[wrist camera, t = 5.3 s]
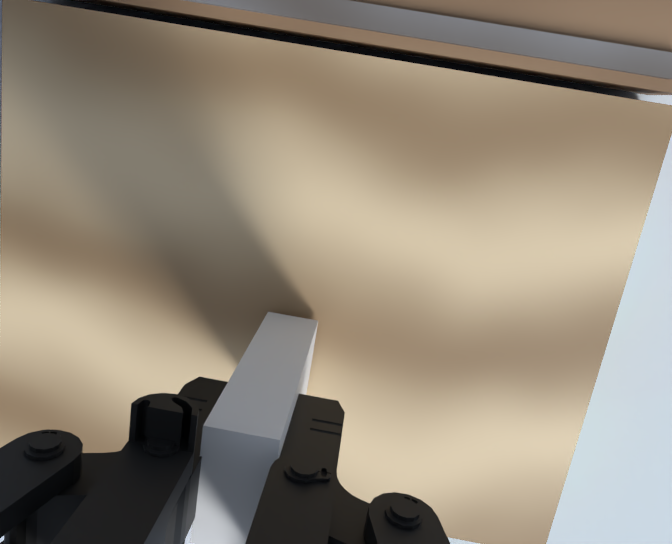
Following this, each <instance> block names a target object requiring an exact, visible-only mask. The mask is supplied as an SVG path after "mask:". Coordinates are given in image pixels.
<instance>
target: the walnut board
mask: <svg viewBox="0 0 672 544" xmlns="http://www.w3.org/2000/svg"><path fill="white" fill-rule="evenodd" d="M72 1H79V2H85V3H91V4H97V5H103V6H109V7H115V8H121V9H127V10H133V11H139V12H146V13H152V14H158V15H164V16H170V17H176V18H182V19H188V20H194V21H200V22H207V23H213V24H219V25H225V26H231V27H237V28H243V29H249V30H255V31H261V32H268V33H274V34H280V35H286V36H292V37H298V38H304V39H310V40H316V41H322V42H329V43H335V44H341V45H347V46H353V47H359V48H365V49H371V50H377V51H383V52H390V53H396V54H402V55H408V56H414V57H420V58H426V59H432V60H438V61H444V62H450V63H457V64H463V65H469V66H475V67H481V68H487V69H493V70H499V71H505V72H511V73H518V74H524V75H530V76H536V77H542V78H548V79H554V80H560V81H566V82H572V83H579V84H585V85H591V86H597V87H603V88H609V89H615V90H621V91H627V92H633V93H640V94H646V95H672V0H72Z"/></svg>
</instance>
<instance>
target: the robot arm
mask: <svg viewBox="0 0 672 544" xmlns="http://www.w3.org/2000/svg"><path fill="white" fill-rule="evenodd" d="M317 326H318V321H317V320H312V319H306V318H301V317H295V316H290V315H284V314H279V313H273V312H268V313H267V315H266V316H265V318H264V320H263V322H262V323H261V325H260V327H259V329H258V330H257V332H256V334H255V336H254V337H253V339H252V341H251V343H250V344H249V346H248V348H247V350H246V351H245V353H244V355H243V357H242V358H241V360H240V362H239V364H238V365H237V367H236V369H235V371H234V372H233V374H232V376H231V378H230V379H229V381H228V382H226V381H221V380H215V379H210V378H204V377H198V378H196V379H194V380H192V381H190V382H188V383H186V384H185V385H184V386H183V387H182V389H181V390H180V392H179V393H178V394H170V393H157V394H149V395H146V396H143V397H140V398H138V399H137V400H135V401H134V402H133V403H131V413H130V427H129V441H128V442H127V443H126V444H125V446H124V447H123V448H122V450H121V451H117V452H107V453H83V444H82V442H81V440H80V438H79V437H77V436H76V435H74V434H72V433H70V432H66V431H61V430H53V429H52V430H50V429H48V430H40V431H35V432H30V433H27V434H25V435H23V436H20V437H18V438H16V439H14V440H13V441H11V442H9V443H8V444H6V445H4V446H3V447H1V448H0V538H1V537H2V536H3V535H4V541H2V542H1V543H0V544H184V543H185V538H186V536H187V534H188V531H189V529H190V527H191V525H192V530H191V539H190V543H192V544H450V542H449V540H448V538H447V536H446V533H445V531H444V529H443V527H442V525H441V522H440V520H439V518H438V516H437V515H436V513H435V512H434V511H433V509H432V508H431V507H430V506H429V505H427V504H426V503H425V502H423V501H422V500H421V499H418V498H416V497H413V496H411V495H408V494H403V493H397V492H392V493H383V494H381V495H379V496H377V497H375V498H373V500H372V501H371V503H368V502H365V501H363V500H361V499H359V498H357V497H355V496H353V495H352V494H350V493H349V492H348V491H347V490H345V489H344V487H343V486H342V485H341V484H340V482H339V480H338V478H337V465H338V458H339V451H340V444H341V437H342V429H343V422H344V415H345V412H344V410H343V408H342V407H341V405H340V403H339V401H337V400H331V399H326V398H321V397H315V396H310V395H306V393H307V387H308V381H309V375H310V369H311V363H312V356H313V350H314V344H315V338H316V332H317Z"/></svg>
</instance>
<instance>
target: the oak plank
mask: <svg viewBox="0 0 672 544" xmlns="http://www.w3.org/2000/svg"><path fill="white" fill-rule="evenodd" d="M671 134H672V105H666V104H660V103H654V102H647V101H641V100H635V99H629V98H623V97H617V96H611V95H605V94H599V93H593V92H587V91H581V90H574V89H568V88H562V87H556V86H550V85H544V84H538V83H532V82H526V81H520V80H514V79H508V78H501V77H495V76H489V75H483V74H477V73H471V72H465V71H459V70H453V69H447V68H441V67H435V66H428V65H422V64H416V63H410V62H404V61H398V60H392V59H386V58H380V57H374V56H368V55H362V54H355V53H349V52H343V51H337V50H331V49H325V48H319V47H313V46H307V45H301V44H295V43H289V42H282V41H276V40H270V39H264V38H258V37H252V36H246V35H240V34H234V33H228V32H222V31H216V30H209V29H203V28H197V27H191V26H185V25H179V24H173V23H167V22H161V21H155V20H149V19H143V18H136V17H130V16H124V15H118V14H112V13H106V12H100V11H94V10H88V9H82V8H76V7H70V6H63V5H57V4H51V3H45V2H39V1H33V0H2V92H1V226H0V448H1V447H3V446H4V445H6V444H8V443H9V442H11V441H13V440H14V439H16V438H18V437H20V436H23V435H25V434H27V433H30V432H35V431H40V430H48V429H50V430H52V429H53V430H61V431H66V432H70V433H72V434H74V435H76V436H77V437H79V438H80V440H81V442H82V444H83V453H107V452H117V451H121V450H122V448H123V447H124V446H125V444H126V443H127V442H128V441H129V427H130V413H131V403H133V402H134V401H135V400H137V399H138V398H140V397H143V396H146V395H149V394H157V393H170V394H178V393H179V392H180V390H181V389H182V387H183V386H184V385H185V384H186V383H188V382H190V381H192V380H194V379H196V378H198V377H204V378H210V379H215V380H221V381H226V382H228V381H229V379H230V378H231V376H232V374H233V372H234V371H235V369H236V367H237V365H238V364H239V362H240V360H241V358H242V357H243V355H244V353H245V351H246V350H247V348H248V346H249V344H250V343H251V341H252V339H253V337H254V336H255V334H256V332H257V330H258V329H259V327H260V325H261V323H262V322H263V320H264V318H265V316H266V315H267V313H268V312H273V313H279V314H284V315H290V316H295V317H301V318H306V319H312V320H317V321H318V326H317V332H316V338H315V344H314V350H313V356H312V363H311V369H310V375H309V381H308V387H307V393H306V395H310V396H315V397H321V398H326V399H331V400H337V401H339V403H340V405H341V407H342V408H343V410H344V412H345V415H344V422H343V429H342V437H341V444H340V451H339V458H338V465H337V478H338V480H339V482H340V484H341V485H342V486H343V487H344V489H345V490H347V491H348V492H349V493H350V494H352V495H353V496H355V497H357V498H359V499H361V500H363V501H365V502H368V503H371V501H372V500H373V498H375V497H377V496H379V495H381V494H383V493H392V492H397V493H403V494H408V495H411V496H413V497H416V498H418V499H421V500H422V501H423V502H425V503H426V504H427V505H429V506H430V507H431V508H432V509H433V511H434V512H435V513H436V515H437V516H438V518H439V520H440V522H441V525H442V527H443V529H444V531H445V533H446V536H447V537H450V538H455V539H460V540H466V541H471V542H476V543H481V544H546V542H547V539H548V535H549V532H550V529H551V526H552V522H553V519H554V516H555V513H556V509H557V506H558V503H559V500H560V496H561V493H562V490H563V486H564V483H565V480H566V477H567V473H568V470H569V467H570V464H571V460H572V457H573V454H574V451H575V447H576V444H577V441H578V438H579V434H580V431H581V428H582V424H583V421H584V418H585V415H586V411H587V408H588V405H589V402H590V398H591V395H592V392H593V389H594V385H595V382H596V379H597V376H598V372H599V369H600V366H601V362H602V359H603V356H604V353H605V349H606V346H607V343H608V340H609V336H610V333H611V330H612V327H613V323H614V320H615V317H616V313H617V310H618V307H619V304H620V300H621V297H622V294H623V291H624V287H625V284H626V281H627V278H628V274H629V271H630V268H631V265H632V261H633V258H634V255H635V251H636V248H637V245H638V242H639V238H640V235H641V232H642V229H643V225H644V222H645V219H646V216H647V212H648V209H649V206H650V203H651V199H652V196H653V193H654V189H655V186H656V183H657V180H658V176H659V173H660V170H661V167H662V163H663V160H664V157H665V154H666V150H667V147H668V144H669V140H670V137H671Z"/></svg>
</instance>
